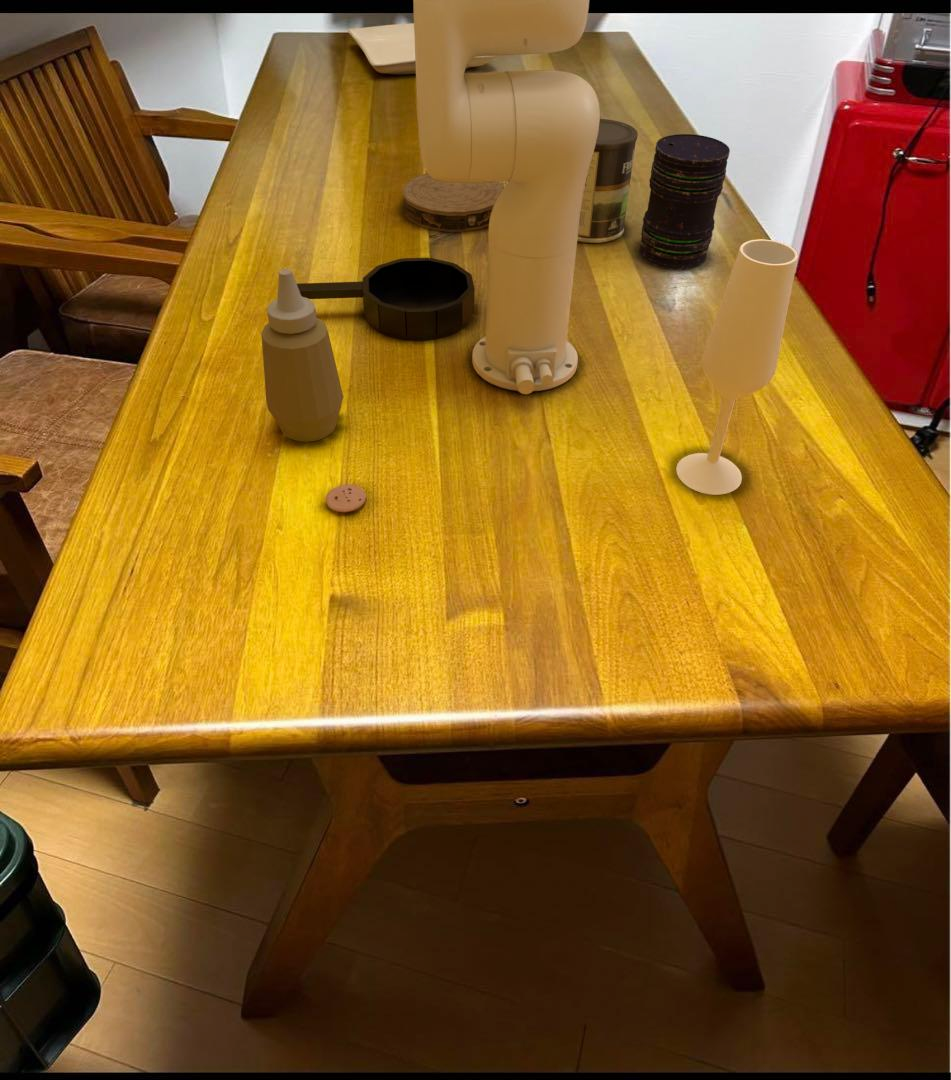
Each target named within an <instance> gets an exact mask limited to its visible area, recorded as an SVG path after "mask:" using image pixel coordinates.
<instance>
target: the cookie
mask: <svg viewBox="0 0 951 1080" xmlns="http://www.w3.org/2000/svg"><path fill="white" fill-rule="evenodd" d="M366 500H367V494H366V491H365V490H364V489H363V488H362V487H360V486H358V485H356V484H348V483H347V484H341V485H338V486H335V487H333V488H332V489H330V490H329V491H328V492H327V494H326V496H325V503H326V506H327V507H328V508H329V509H330V510H333V511H335V512H337V513H349V512H353V511H355V510H359V509H361V507H362V506H363V505H364V504H365V503H366Z"/></svg>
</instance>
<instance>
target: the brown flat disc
mask: <svg viewBox="0 0 951 1080" xmlns="http://www.w3.org/2000/svg"><path fill="white" fill-rule="evenodd" d="M504 188H505V186H504V185H503V183H501V181H498V182H478V183H443V182H439V181H437V180H435V179H433V178H432V177H431V176H430V175H429V174H428V173H423V174H419V175H416V176H415V177H413V178H411V179H409V180H408V181H407V182H406V183H405V184H404V185H403V186H402V205H403V215H404V216H405V217H406V219H407V220H408V221H410V222H411V223H413V224H415V225H417V226H419V227H422V228H425V229H428V230H432V231H441V232H448V233H453V232H455V233H456V232H457V233H458V232H459V233H464V232H469V231H477V230H481V229H482V230H483V229H485V228H487V227H488V228H489V220H490V216H491V212H492V209H493V207H494V204H495V202H496V200H497V199H498V197H499V195H500V194H501V192H502V191H503V189H504Z"/></svg>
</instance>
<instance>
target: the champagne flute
mask: <svg viewBox="0 0 951 1080" xmlns="http://www.w3.org/2000/svg"><path fill="white" fill-rule="evenodd" d="M798 258H799V253H798V252H797V250H796V249H794V248H793V247H792V246H790V245H789V244H787V243H785V242H781V241H777V240H772V239H764V238H762V239H761V238H760V239H759V238H758V239H757V238H756V239H751V240H747V241H745V242H743V243H742V244H741V245H740V247H739V249H738V252H737V255H736V259H735V260H734V264H733V267H732V269H731V271H730V275H729V278H728V281H727V284H726V286H725V289H724V293H723V296H722V298H721V301H720V304H719V307H718V310H717V312H716V316H715V318H714V321H713V324H712V327H711V330H710V333H709V336H708V338H707V341H706V344H705V347H704V350H703V353H702V356H701V364H700V365H701V369H702V372H703V374H704V376H705V378H706V380H707V382H708V383H709V384H710V385H711V387H713V389H714V390H715V391H716V392H717V393H718V394H719V395H720V396H722V400H721V403H720V407H719V411H718V414H717V419H716V422H715V425H714V430H713V434H712V437H711V441H710V445H709V449H708V453H706V452H697V453H691V454H689V455H686V456H684V457H682V458H681V459H680V460H679V461H678V463H677V465H676V469H675V470H676V471H675V472H676V475H677V478H678V479H679V480H680V481H681V483H682V484H684V485H685V486H686V487H688V488H689V489H691V490H693V491H695V492H699V493H701V494H705V495H713V496H717V495H725V494H730V493H731V492H734V491H735V490H737V489H738V488H739V487H740V485H741V484H742V481H743V480H742V479H743V476H742V472H741V470H740V469H739V467H738V466H737V465H736V464H735V463H733V462H732V461H731V460H729V459H728V458H725V457H724V456H721V453H722V449H723V446H724V443H725V439H726V436H727V431H728V429H729V424H730V421H731V416H732V414H733V410H734V407H735V403H736V400H738V399H742V398H744V397H747V396H750V395H753V394H755V393H757V392H759V391H761V390H762V389H763V388H765V387H766V386H767V385H768V384H769V383H770V382H771V381H772V380H773V379H774V377H775V374H776V371H777V368H778V367H777V366H778V361H779V356H780V352H781V346H782V341H783V335H784V330H785V325H786V320H787V315H788V310H789V306H790V300H791V296H792V295H791V294H792V289H793V284H794V280H795V274H796V269H797V264H798Z"/></svg>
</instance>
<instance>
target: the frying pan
mask: <svg viewBox="0 0 951 1080" xmlns="http://www.w3.org/2000/svg"><path fill="white" fill-rule="evenodd" d="M296 284H297V286H298V289H299V292H300V294H301V296H302V297H305V298H308V299H310V300H331V299H332V300H333V299H356V298H357V299H358V298H362V302H363V314H364V318H365V320H366V322H367V323H368V324H369V326H371V328H372V329H374V330H375V331H377V332H379V333H380V334H383V335H385V336H388V337H391V338H395V339H400V340H406V341H429V340H437V339H442V338H445V337H449V336H452V335H454V334H457V332H459V331H461V330H463V329H464V328H465V327H467V325H469V323H470V322H471V321H472V318H473V315H474V314H475V284H474V279H473V274H471V273H470V272H469V271H467V270H466V269H464V268H463V267H461V266H460V265H459V264H457V263H455V262H451V261H447V260H442V259H439V258H434V257H403V258H396V259H394V260H391V261H387V262H384V263H381V264H378V265H376V266H375V267H374V268H372V269H371V270H370V271H369V272H368V273H367V274H366V275H365V276H363V277H362V281H361V280H360V281H338V282H337V281H334V282H333V281H332V282H302V283H300V282H299V283H296Z"/></svg>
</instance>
